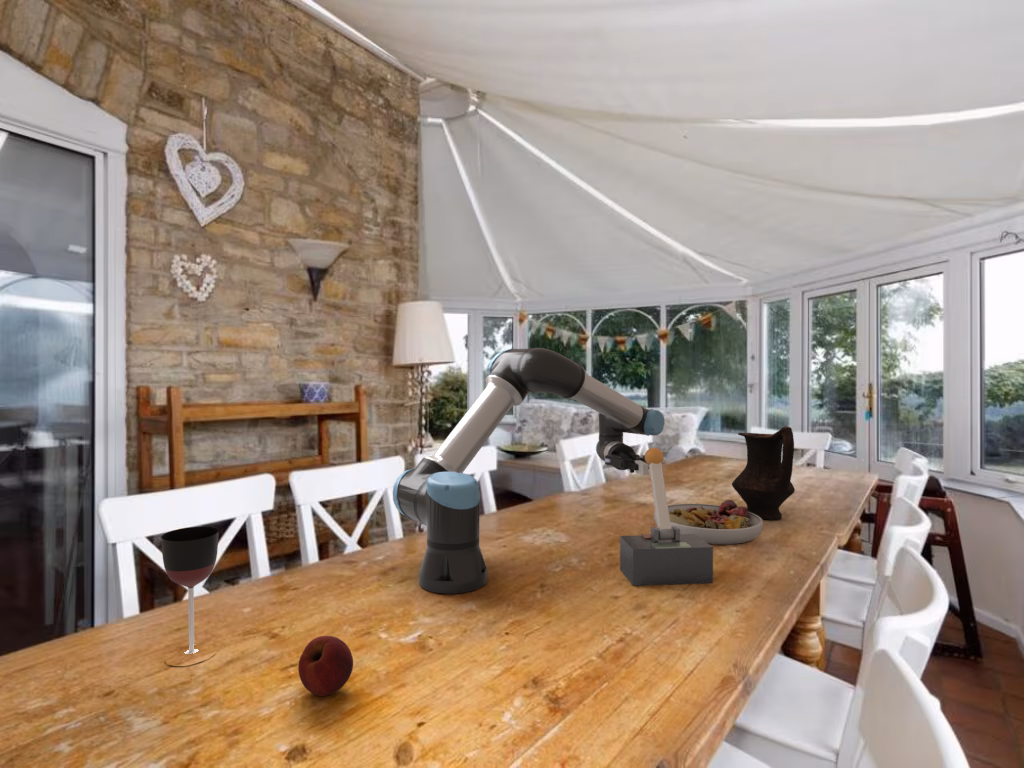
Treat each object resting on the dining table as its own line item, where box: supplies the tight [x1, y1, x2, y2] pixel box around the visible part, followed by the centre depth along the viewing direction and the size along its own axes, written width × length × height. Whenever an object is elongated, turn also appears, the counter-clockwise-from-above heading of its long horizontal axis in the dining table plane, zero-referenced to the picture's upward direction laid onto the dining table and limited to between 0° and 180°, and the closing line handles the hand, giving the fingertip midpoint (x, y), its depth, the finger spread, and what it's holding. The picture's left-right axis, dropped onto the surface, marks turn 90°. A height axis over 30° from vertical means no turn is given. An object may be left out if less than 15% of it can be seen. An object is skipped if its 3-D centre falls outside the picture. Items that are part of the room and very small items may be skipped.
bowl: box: [653, 499, 764, 545], centre depth 163 cm, size 30×30×8 cm
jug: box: [731, 426, 796, 521], centre depth 179 cm, size 21×18×30 cm
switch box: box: [619, 526, 714, 587], centre depth 127 cm, size 10×18×11 cm, turn 95°
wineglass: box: [160, 526, 219, 654], centre depth 91 cm, size 8×9×20 cm
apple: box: [297, 635, 354, 697], centre depth 81 cm, size 7×8×8 cm
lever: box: [644, 447, 674, 540], centre depth 130 cm, size 4×4×22 cm
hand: (645, 469), depth 141 cm, fingers closed
